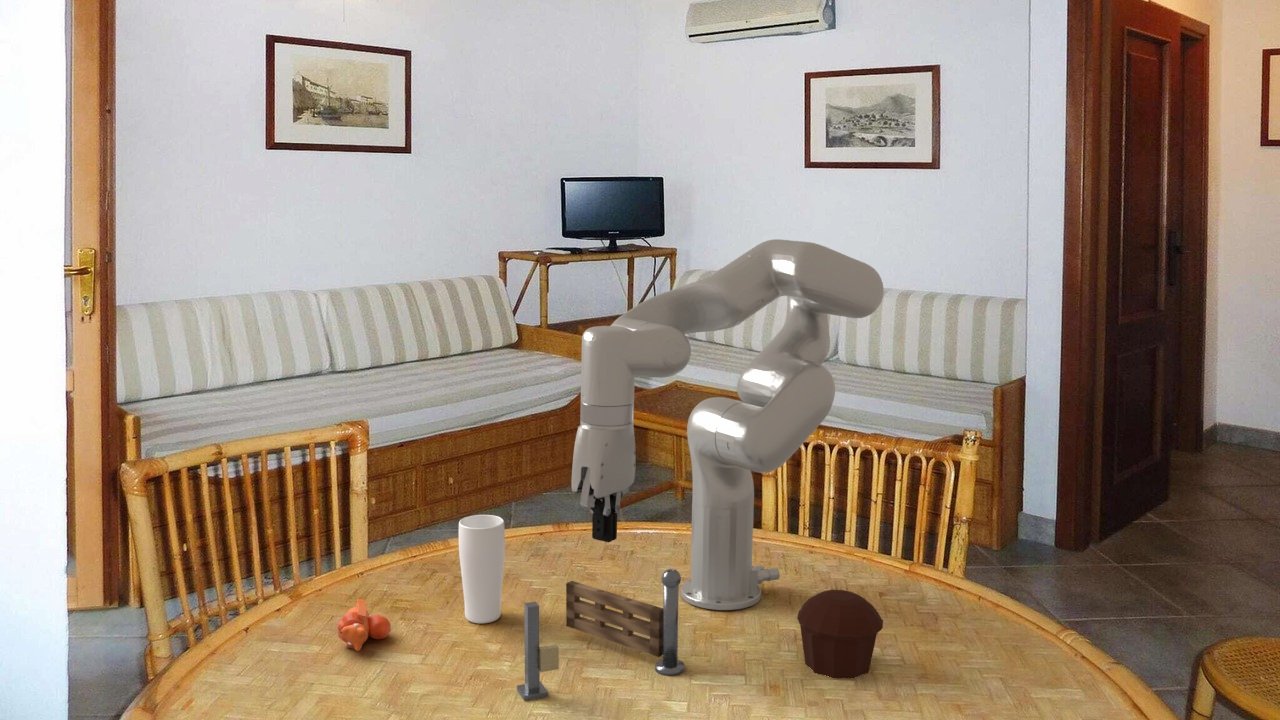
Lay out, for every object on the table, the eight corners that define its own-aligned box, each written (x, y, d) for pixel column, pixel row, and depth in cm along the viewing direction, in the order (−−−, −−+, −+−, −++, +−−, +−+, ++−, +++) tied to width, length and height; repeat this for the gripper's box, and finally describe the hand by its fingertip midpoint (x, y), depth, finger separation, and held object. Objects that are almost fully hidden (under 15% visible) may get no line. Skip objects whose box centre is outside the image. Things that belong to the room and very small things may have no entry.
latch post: (550, 683, 150) (550, 596, 148) (558, 694, 147) (558, 606, 145) (516, 689, 148) (515, 601, 146) (524, 700, 145) (523, 611, 143)
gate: (663, 654, 156) (664, 608, 154) (658, 657, 155) (659, 611, 154) (571, 623, 166) (571, 580, 164) (566, 626, 165) (566, 583, 163)
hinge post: (677, 660, 157) (678, 562, 155) (689, 672, 153) (691, 572, 151) (650, 665, 156) (651, 566, 153) (662, 677, 152) (663, 576, 149)
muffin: (778, 660, 158) (780, 591, 156) (834, 640, 164) (837, 573, 163) (842, 692, 148) (845, 619, 147) (899, 669, 155) (902, 599, 153)
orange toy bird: (346, 587, 167) (341, 619, 156) (396, 599, 169) (395, 632, 158) (335, 618, 168) (330, 653, 156) (385, 631, 170) (383, 665, 158)
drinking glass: (497, 628, 167) (496, 530, 164) (453, 624, 168) (451, 526, 166) (511, 611, 174) (510, 516, 171) (469, 607, 175) (467, 512, 172)
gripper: (614, 402, 170) (611, 522, 173) (553, 419, 157) (552, 547, 160) (657, 409, 166) (654, 531, 169) (598, 427, 153) (596, 558, 156)
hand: (604, 539), depth 165 cm, fingers closed
